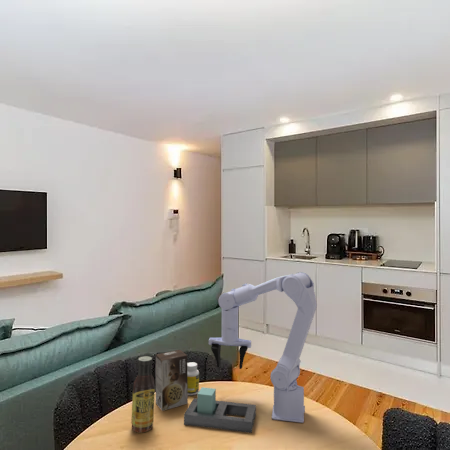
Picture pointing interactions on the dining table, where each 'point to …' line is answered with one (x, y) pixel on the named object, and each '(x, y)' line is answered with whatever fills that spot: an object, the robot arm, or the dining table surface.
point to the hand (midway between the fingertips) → (229, 366)
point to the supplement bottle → (192, 378)
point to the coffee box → (171, 379)
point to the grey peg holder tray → (223, 416)
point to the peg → (206, 401)
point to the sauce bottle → (143, 397)
